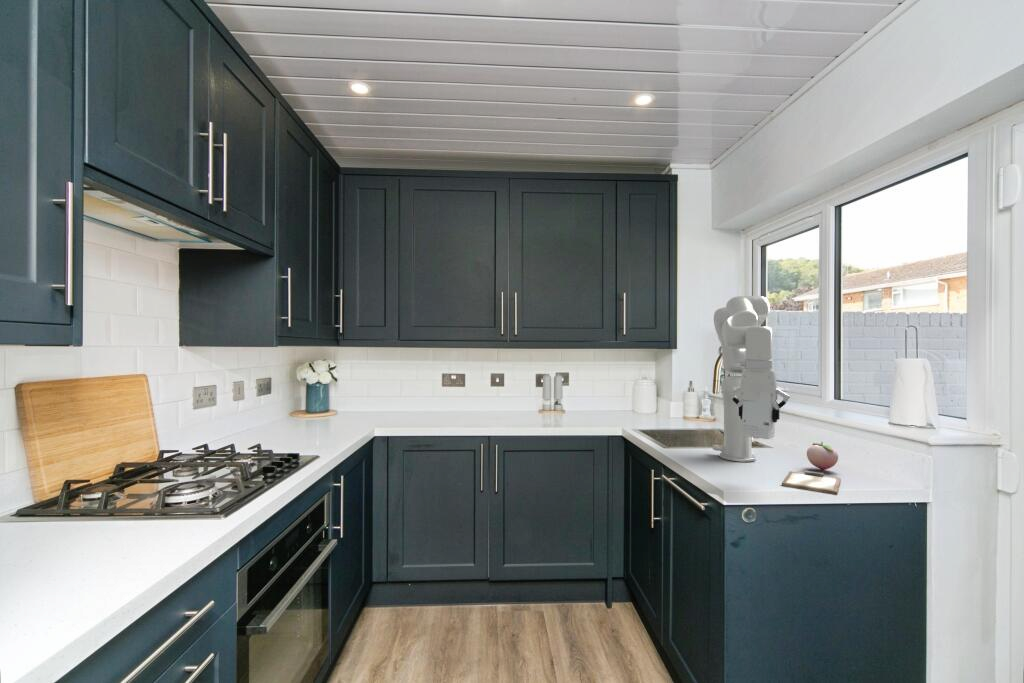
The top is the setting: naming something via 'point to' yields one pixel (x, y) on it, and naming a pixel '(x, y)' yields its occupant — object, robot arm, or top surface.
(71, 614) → the top surface
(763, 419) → the skincare box
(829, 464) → the decorative fruit
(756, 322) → the robot arm
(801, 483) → the clipboard
